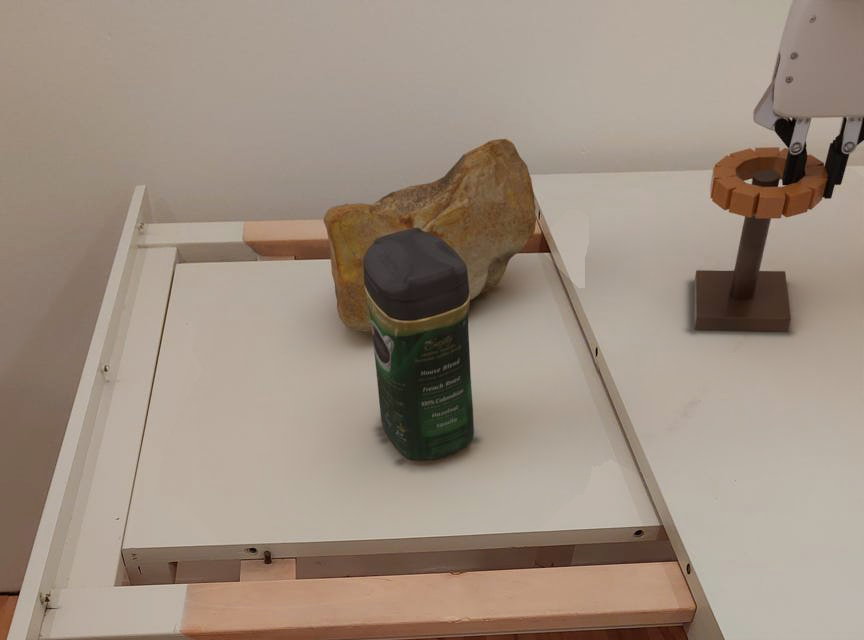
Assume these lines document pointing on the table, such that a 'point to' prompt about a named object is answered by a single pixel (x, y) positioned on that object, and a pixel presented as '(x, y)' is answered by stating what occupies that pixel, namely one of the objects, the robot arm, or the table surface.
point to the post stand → (744, 283)
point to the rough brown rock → (440, 223)
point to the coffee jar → (421, 343)
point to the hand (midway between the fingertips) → (808, 190)
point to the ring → (765, 200)
